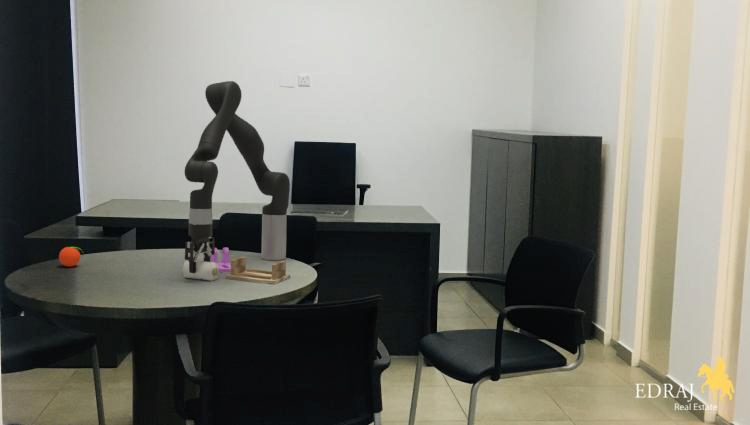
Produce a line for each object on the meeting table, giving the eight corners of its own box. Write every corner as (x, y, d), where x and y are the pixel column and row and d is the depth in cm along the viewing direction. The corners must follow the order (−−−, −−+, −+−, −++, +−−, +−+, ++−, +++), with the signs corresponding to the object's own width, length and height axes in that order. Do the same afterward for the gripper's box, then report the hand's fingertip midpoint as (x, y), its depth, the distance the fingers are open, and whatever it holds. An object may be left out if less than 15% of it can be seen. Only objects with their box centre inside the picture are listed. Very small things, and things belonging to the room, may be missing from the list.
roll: (180, 279, 251) (181, 261, 250) (191, 275, 257) (191, 258, 256) (210, 282, 247) (210, 264, 247) (220, 279, 253) (220, 261, 252)
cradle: (243, 272, 265) (243, 255, 264) (290, 277, 259) (290, 260, 258) (225, 278, 254) (225, 260, 253) (274, 284, 248) (274, 266, 247)
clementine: (84, 264, 269) (84, 244, 268) (83, 268, 262) (83, 247, 261) (59, 264, 266) (59, 244, 265) (58, 268, 260) (58, 248, 259)
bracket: (210, 266, 274) (211, 247, 273) (225, 265, 277) (226, 246, 276) (221, 273, 263) (221, 253, 262) (236, 272, 265) (237, 252, 264)
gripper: (202, 218, 258) (201, 266, 259) (178, 223, 244) (177, 273, 246) (222, 220, 255) (221, 268, 257) (198, 225, 242) (197, 275, 244)
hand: (199, 270), depth 252 cm, fingers open, 8 cm apart
